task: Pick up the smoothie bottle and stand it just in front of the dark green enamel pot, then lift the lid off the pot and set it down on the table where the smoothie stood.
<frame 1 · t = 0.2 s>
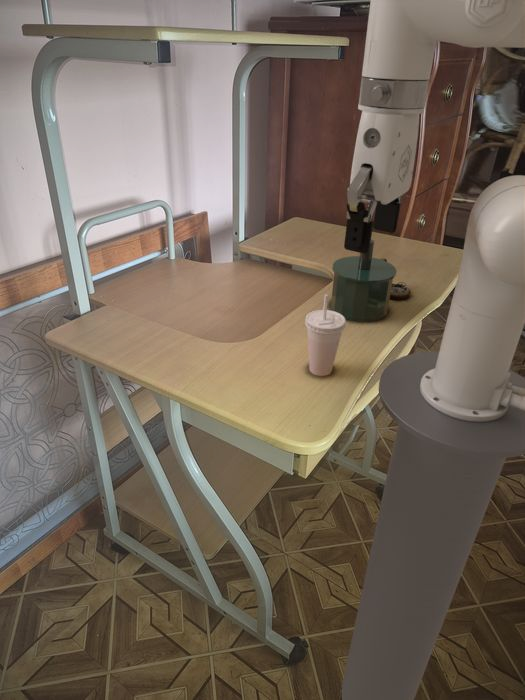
hand: (370, 240, 66), 24 cm above the table, tool pointing down, fingers open, 9 cm apart
smoothie: (320, 370, 83), on the table
pot: (358, 308, 103), on the table
lid: (363, 270, 98), point 8 cm above the table, touching pot
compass: (393, 292, 110), on the table
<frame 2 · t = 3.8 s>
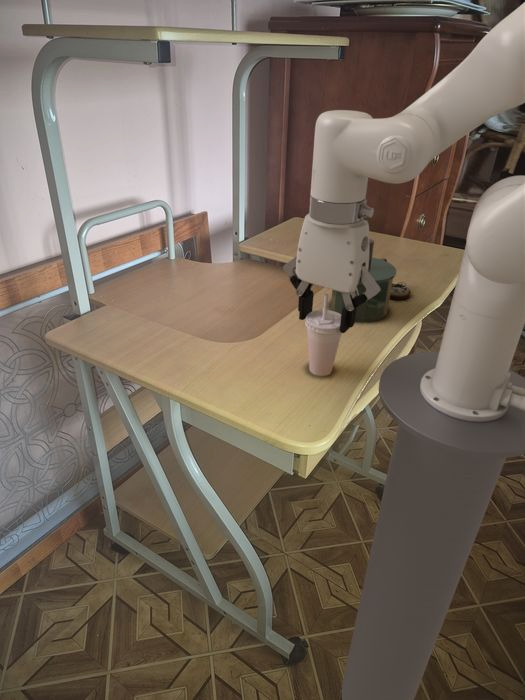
hand: (325, 322, 78), 9 cm above the table, tool pointing down, fingers closed on smoothie, 6 cm apart
smoothie: (320, 370, 83), on the table, touching gripper
everything else where it was.
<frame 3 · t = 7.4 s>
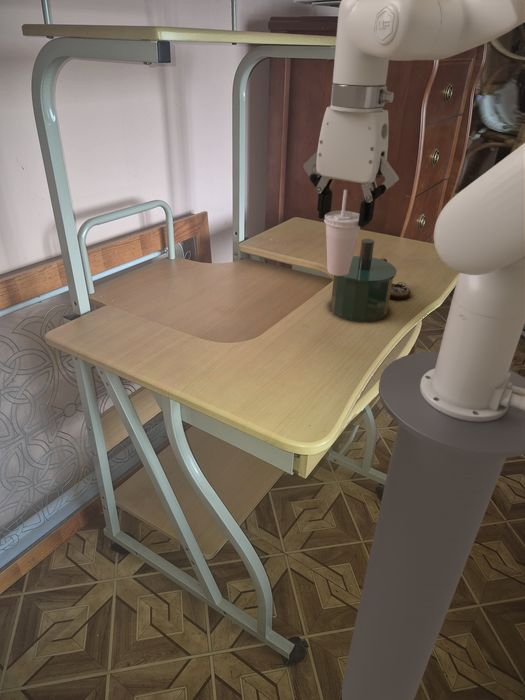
hand: (343, 219, 81), 22 cm above the table, tool pointing down, fingers closed on smoothie, 6 cm apart
smoothie: (338, 272, 86), point 13 cm above the table, touching gripper
everything else where it was.
when the fingers open (9 cm above the table, at t = 10.8 s): smoothie stays where it is, on the table.
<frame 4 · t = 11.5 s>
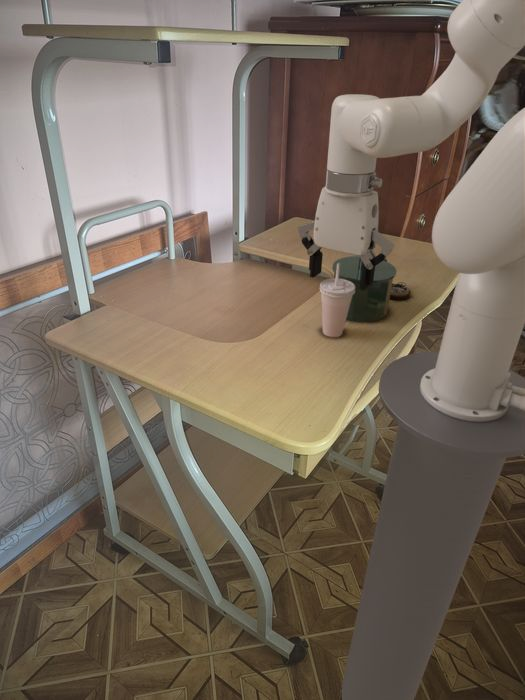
hand: (339, 281, 88), 11 cm above the table, tool pointing down, fingers open, 9 cm apart
smoothie: (332, 333, 94), on the table
everything else where it was.
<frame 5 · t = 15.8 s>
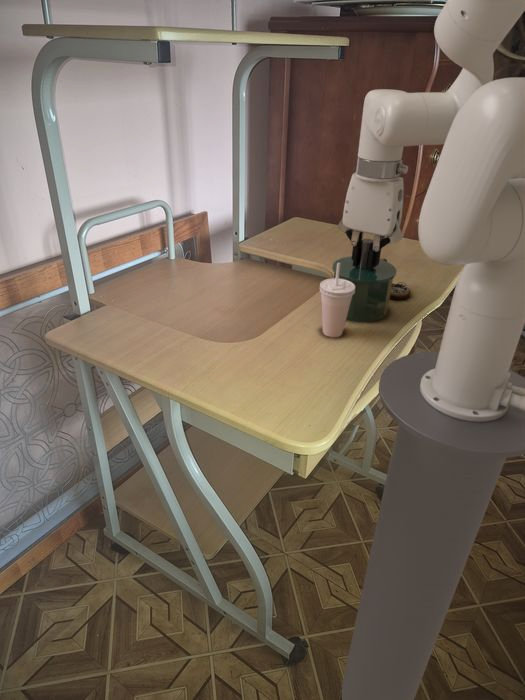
hand: (364, 265, 98), 9 cm above the table, tool pointing down, fingers closed on lid, 2 cm apart
lid: (364, 270, 98), point 9 cm above the table, touching gripper, pot
everything else where it was.
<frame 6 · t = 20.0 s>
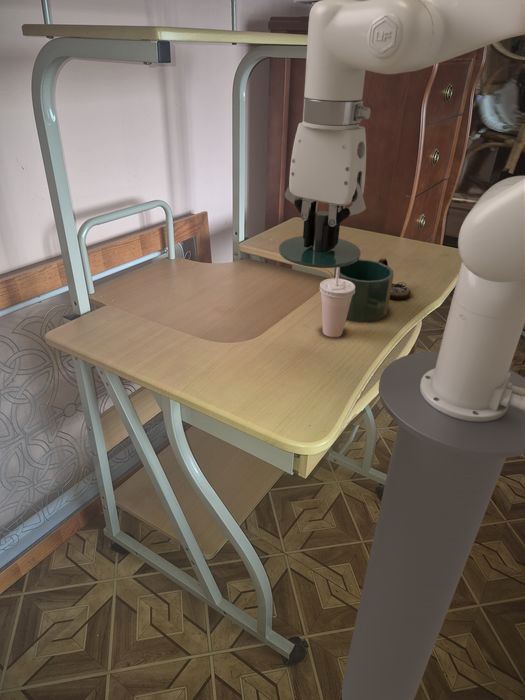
hand: (319, 246, 75), 20 cm above the table, tool pointing down, fingers closed on lid, 2 cm apart
lid: (319, 252, 76), point 19 cm above the table, touching gripper
everything else where it was.
when the fingers open (1 cm above the table, at t = 24.2 s): lid stays where it is, point 1 cm above the table.
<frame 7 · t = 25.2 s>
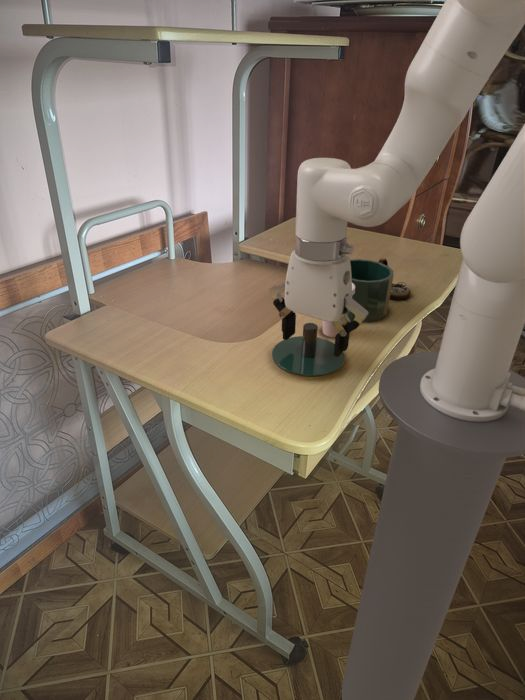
hand: (313, 344, 84), 3 cm above the table, tool pointing down, fingers open, 9 cm apart
lid: (308, 356, 85), point 1 cm above the table
everything else where it was.
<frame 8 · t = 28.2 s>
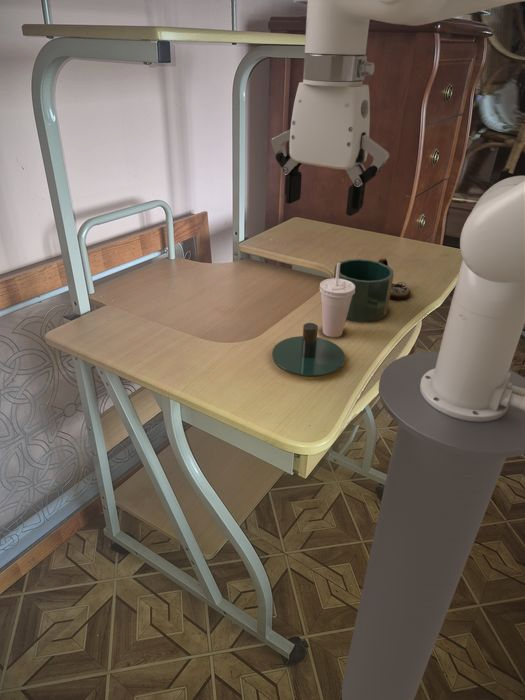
hand: (322, 207, 72), 26 cm above the table, tool pointing down, fingers open, 9 cm apart
nothing on the table moved.
at the end: smoothie inside the target area on the table beside the pot (0.0 cm from its centre), on the table; smoothie tilted 0°; lid inside the target area on the table beside the pot (0.3 cm from its centre), point 0.6 cm above the table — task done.
